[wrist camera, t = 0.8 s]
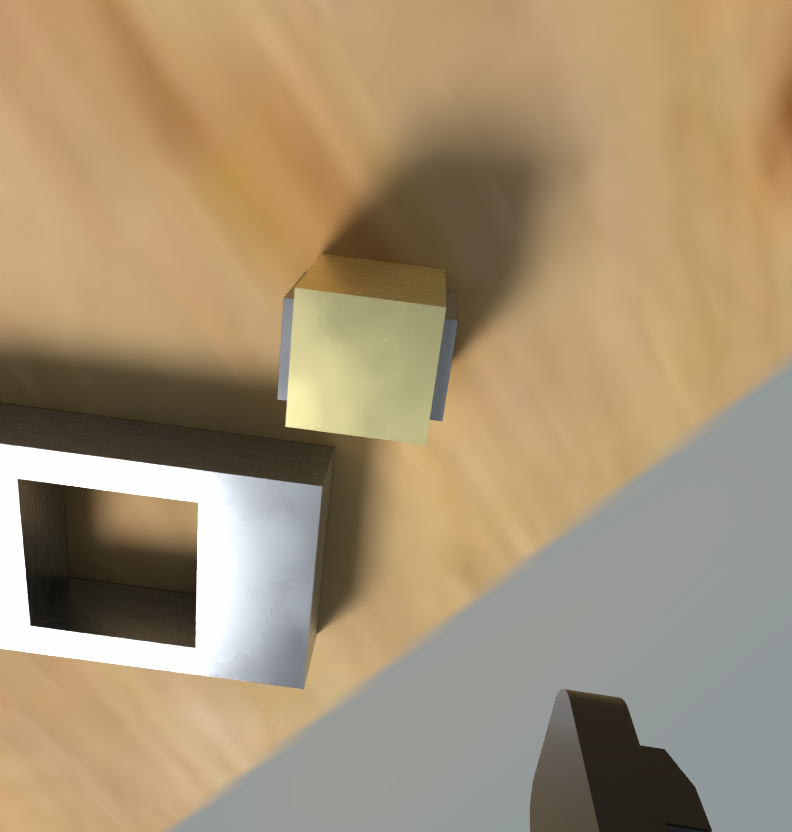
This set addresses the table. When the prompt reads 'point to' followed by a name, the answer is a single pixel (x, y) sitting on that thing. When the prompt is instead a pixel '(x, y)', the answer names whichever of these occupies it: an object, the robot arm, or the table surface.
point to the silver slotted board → (216, 550)
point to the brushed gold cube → (367, 348)
